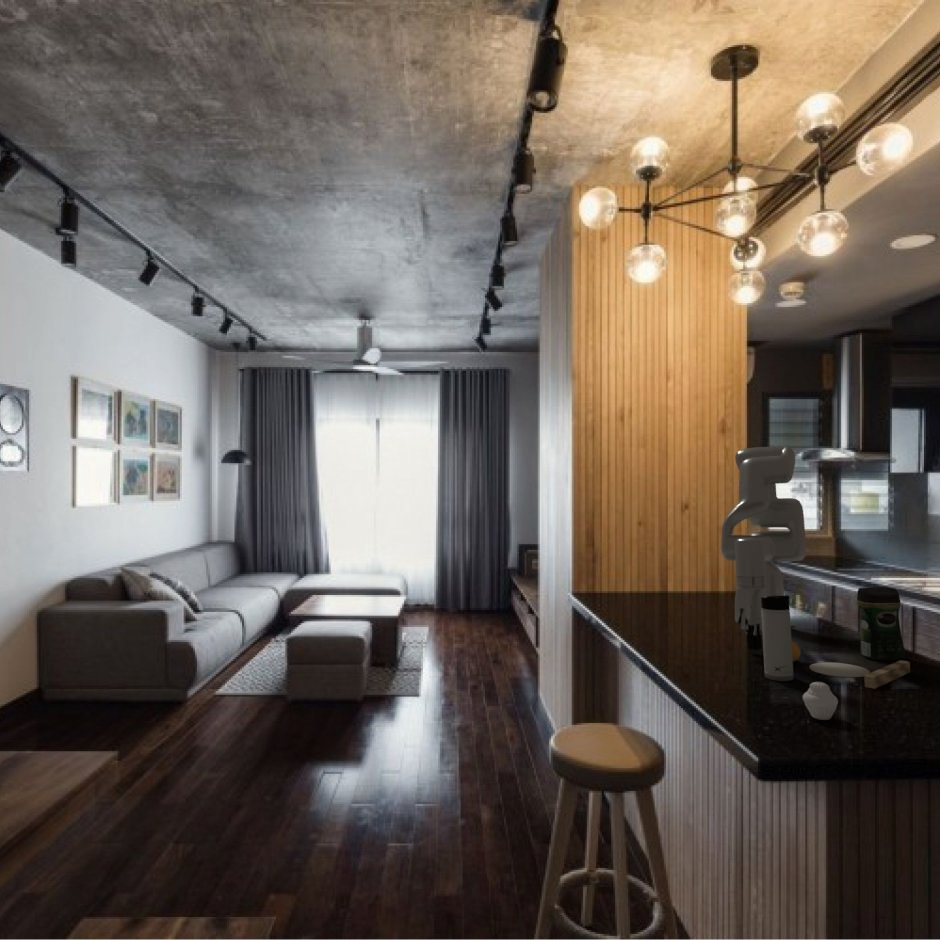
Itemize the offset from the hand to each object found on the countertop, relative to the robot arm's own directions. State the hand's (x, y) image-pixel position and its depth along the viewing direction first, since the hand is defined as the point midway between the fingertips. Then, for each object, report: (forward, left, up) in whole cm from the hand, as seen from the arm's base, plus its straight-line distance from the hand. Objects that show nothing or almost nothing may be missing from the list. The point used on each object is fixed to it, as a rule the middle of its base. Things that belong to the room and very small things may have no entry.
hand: (754, 648), depth 176 cm
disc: (0, +22, -2) cm, 22 cm away
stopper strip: (0, +33, -2) cm, 33 cm away
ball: (+1, +10, +1) cm, 10 cm away
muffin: (+37, +35, -2) cm, 51 cm away
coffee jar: (-20, +24, -2) cm, 31 cm away
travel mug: (+17, +16, -2) cm, 23 cm away
